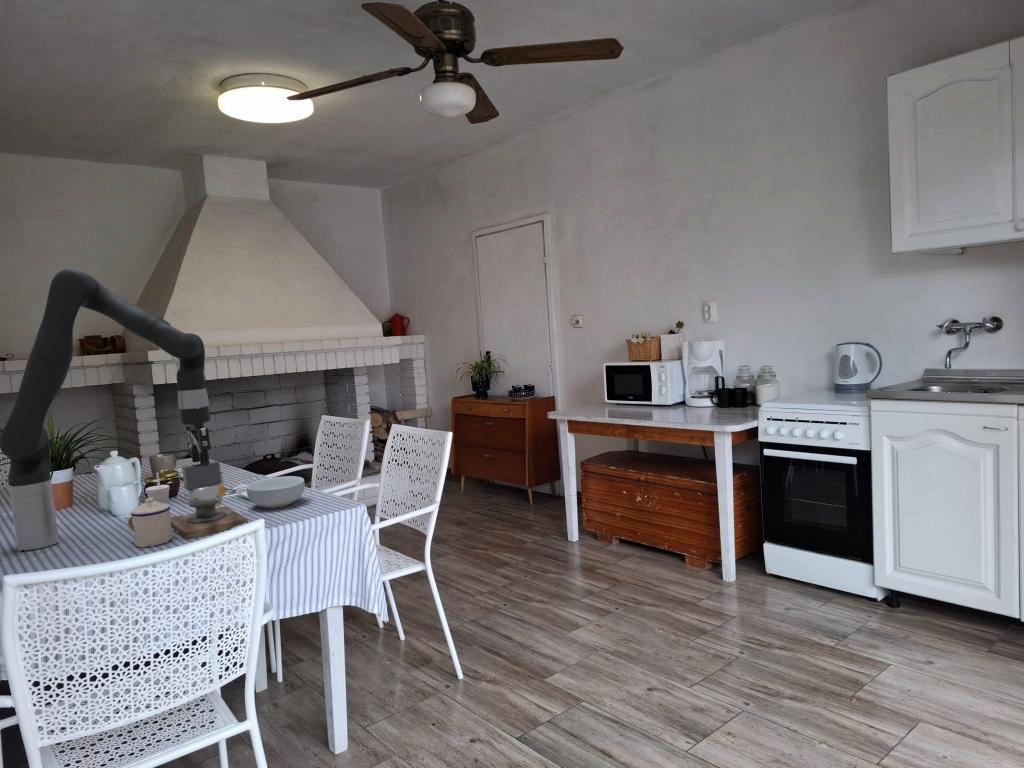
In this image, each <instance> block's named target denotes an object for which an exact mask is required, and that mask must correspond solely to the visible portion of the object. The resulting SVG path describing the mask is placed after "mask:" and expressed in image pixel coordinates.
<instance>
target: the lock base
mask: <svg viewBox="0 0 1024 768" xmlns="http://www.w3.org/2000/svg"><path fill="white" fill-rule="evenodd" d="M170 519H171V527H172V528H173V529H174V530H175V532H176V531H177V532H178V533H179V534H180V535H179V534H178V533H177V532H176V533H177V534H178V535H179V536H181V535H182V536H183V537H184V538H185V539H188V540H191V539H196V538H200V537H204V535H205V536H209V535H213V534H217V533H221V531H222V532H225V531H224V530H227V531H229V530H228V529H231V528H233V527H235V526H238V525H241V524H244V523H248V524H249V522H248V518H247V517H246V516H244V515H242V514H241V513H238V512H237V511H235V510H233V509H232V508H230V507H228V506H227V505H225V506H220V507H216V504H214V505H211V506H205V507H195V512H192V513H188V514H182V515H178V516H174V517H170ZM173 529H172V530H173ZM174 530H173V531H174ZM231 530H232V529H231ZM182 536H181V537H182ZM183 537H182V538H183ZM184 538H183V539H184ZM185 539H184V540H185Z"/></svg>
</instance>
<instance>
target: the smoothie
mask: <svg viewBox="0 0 1024 768" xmlns="http://www.w3.org/2000/svg"><path fill="white" fill-rule="evenodd" d="M159 475H160V474H159V472H156V482H157V485H153V486H149V487H146V488H145V494H147V498H154V501H158V502H160V503H165V504H168V505H169V499H170V498H169V495H170V494H169V493H170V491H169V490H170V489H171V488H170V485H169V484H161V483H160V476H159Z"/></svg>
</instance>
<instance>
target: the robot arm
mask: <svg viewBox="0 0 1024 768" xmlns="http://www.w3.org/2000/svg"><path fill="white" fill-rule="evenodd" d="M50 282H51V283H50V285H49V288H48V289H49V290H48V294H47V300H46V304H45V308H44V312H43V316H42V320H41V323H40V326H39V328H38V331H37V334H36V337H35V341H34V343H33V346H32V348H31V351H30V354H29V356H28V358H27V359H28V360H27V363H26V365H25V369H24V372H23V375H22V378H21V381H20V384H19V390H18V391H17V397H16V400H15V402H14V406H13V409H12V411H11V413H10V415H9V417H8V419H7V421H6V423H5V425H4V427H3V429H2V431H1V434H0V451H1V452H2V453H3V455H4V456H6V457H8V459H10V460H9V461H10V469H9V472H8V475H7V481H8V488H9V489H8V490H9V495H10V502H11V503H10V504H11V510H12V513H11V514H12V519H13V528H14V533H15V534H14V535H15V542H16V548H17V552H22V550H24V551H32V550H33V549H34V550H38V549H43V548H47V547H49V546H53V545H56V544H57V543H59V542H60V540H59V531H58V523H57V516H56V515H57V514H56V507H55V501H54V493H53V485H52V477H51V469H52V457H51V447H50V439H49V435H48V432H47V430H46V428H45V427H44V423H45V419H46V417H47V416H46V415H47V413H48V411H49V408H50V407H51V404H52V403H53V402H54V400H55V398H56V396H57V395H58V393H59V392H60V390H61V389H62V386H63V384H64V383H65V381H66V378H67V376H68V373H69V370H70V366H71V363H72V360H73V356H74V355H73V354H74V338H73V337H74V336H73V335H74V334H73V332H74V331H73V330H74V325H75V321H76V318H77V315H78V313H79V311H80V308H81V307H82V308H85V309H88V310H92V311H93V312H97V313H100V314H102V315H104V316H106V317H108V318H110V320H113V321H114V322H116V323H117V324H119V325H120V326H121V327H123V328H125V329H127V331H129V332H131V333H133V334H135V335H137V337H140V338H142V339H144V340H145V341H148V342H150V343H152V344H154V345H156V346H157V347H158V348H159V349H161V350H163V351H164V352H165V353H167V354H168V355H170V356H172V357H174V358H176V359H179V369H178V370H177V372H176V386H177V403H178V409H179V420H180V424H181V425H183V426H185V432H186V441H187V442H186V443H187V446H188V447H189V449H190V454H191V460H192V463H199V462H200V463H199V464H200V465H201V466H207V465H209V464H210V463H209V462H210V456H209V451H210V450H211V449H212V447H211V441H210V434H209V428H208V427H205V425H204V423H209V422H210V421H211V413H210V401H209V397H208V396H209V395H208V392H207V388H206V386H207V385H206V378H205V371H204V369H205V363H206V362H205V359H206V358H205V357H206V353H205V352H206V350H205V344H204V341H203V340H202V338H201V337H200V336H199V335H198V334H196V333H192V332H191V333H190V332H189V333H186V332H183V331H181V330H179V329H178V328H175V327H174V326H171V325H172V324H171V323H170V322H169V321H167V320H166V319H164V318H163V317H160V316H159V315H156V314H154V313H152V312H150V311H149V310H147V309H145V308H142V307H141V306H138V305H136V304H134V303H132V302H130V301H128V300H126V299H124V298H123V297H121V296H119V295H117V294H115V293H114V292H112V291H111V290H110V289H108V288H107V287H105V286H104V285H103V284H102V283H101V282H99V281H98V280H96V279H95V278H94V277H93V276H91V275H90V274H89V273H86V272H83V271H80V270H78V269H73V268H66V269H62V270H60V271H59V272H57V273H56V274H55V275H54V276H53V278H52V280H51V281H50Z"/></svg>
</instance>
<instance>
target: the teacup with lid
mask: <svg viewBox="0 0 1024 768" xmlns="http://www.w3.org/2000/svg"><path fill="white" fill-rule="evenodd" d="M170 509H171V506H170V505H169V503H168V504H165V503H160V502H158V501H154V498H148V497H147V498H146V499H145V502H143V503H141V504H140V505H139V506H137V507H135V508H134V509H132V510H131V511H130V512H131V513H130V516H129V517H127V522H126V523H127V526H128V529H129V530H130V531H131V532H132V533H134V539H135V540H134V541H135V545H136V547H138V546H139V548H146V547H145V546H152V547H154V546H153V545H157V546H159V545H158V544H161V543H164V544H166V543H165V542H167V541H169V540H171V539H172V540H173V529H172V527H171V519H170V518H171V512H170ZM172 540H171V541H172ZM169 542H170V541H169ZM167 543H168V542H167ZM161 545H162V544H161Z"/></svg>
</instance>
